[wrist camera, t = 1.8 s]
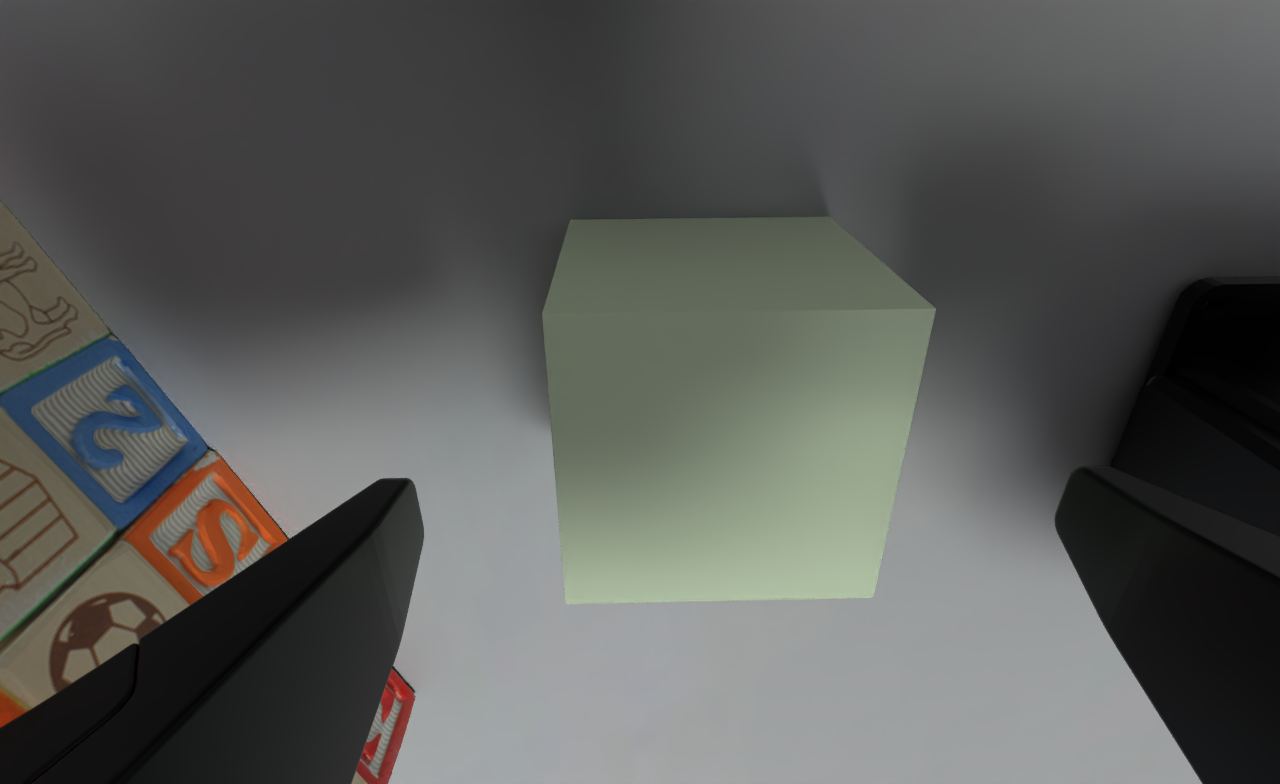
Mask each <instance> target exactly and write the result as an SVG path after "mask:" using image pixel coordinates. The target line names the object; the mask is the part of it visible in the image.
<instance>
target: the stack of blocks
mask: <svg viewBox="0 0 1280 784" xmlns="http://www.w3.org/2000/svg"><path fill="white" fill-rule="evenodd" d="M286 541H287V538H286V537H285V535H284V534H283V533H282V531H281V530H280V529H279V527H278V526H277V525H276V523H275V522H274V521H273V520H272V519H271V518H270V516H269V515H268V514H267V513H266V512H265V511H264V509H263V508H262V507H261V506H260V504H259V503H258V502H257V501H256V499H255V498H254V497H253V496H252V494H251V493H250V492H249V491H248V489H247V488H246V487H245V486H244V484H243V483H242V482H241V481H240V480H239V478H238V477H237V476H236V475H235V474H234V473H233V471H232V470H231V469H230V468H229V467H228V465H227V464H226V463H225V462H224V460H223V459H222V458H221V457H220V455H219V454H218V453H215V452H213V451H211V450H209V449H208V448H207V446H206V444H205V442H204V440H203V439H202V438H201V437H200V435H199V434H198V433H197V432H196V431H195V429H194V428H193V427H192V426H191V425H190V423H189V422H188V421H187V420H186V419H185V418H184V416H183V415H182V414H181V413H180V412H179V411H178V409H177V408H176V407H175V406H174V405H173V403H172V402H171V401H170V400H169V398H168V397H167V396H166V395H165V394H164V393H163V391H162V390H161V389H160V388H159V387H158V386H157V385H156V384H155V382H154V381H153V380H152V378H151V377H150V376H149V375H148V373H147V372H146V371H145V370H144V369H143V368H142V366H141V365H140V364H139V363H138V362H137V361H136V359H135V358H134V357H133V356H132V354H131V353H130V352H129V351H128V349H127V348H126V347H125V346H124V344H123V343H122V342H121V341H119V340H118V339H116V338H115V337H114V336H113V335H112V334H110V332H109V330H108V328H107V327H106V325H105V324H104V322H103V321H102V320H101V319H100V317H99V316H98V315H97V314H96V313H95V311H94V310H93V309H92V308H91V307H90V305H89V304H88V303H87V302H86V301H85V300H84V298H83V297H82V296H81V295H80V294H79V293H78V291H77V290H76V289H75V288H74V287H73V286H72V284H71V283H70V282H69V281H68V280H67V279H66V277H65V276H64V275H63V273H62V272H61V271H60V270H59V268H58V267H57V266H56V265H55V264H54V263H53V261H52V260H51V259H50V258H49V257H48V256H47V255H46V253H45V252H44V251H43V250H42V249H41V248H40V246H39V245H38V244H37V243H36V241H35V240H34V239H33V238H32V236H31V235H30V234H29V233H28V232H27V230H26V229H25V228H24V227H23V226H22V225H21V223H20V222H19V221H18V220H17V219H16V218H15V216H14V215H13V214H12V213H11V212H10V210H9V209H8V208H7V207H6V206H5V205H4V204H3V203H2V202H1V201H0V727H2V726H4V725H5V724H7V723H9V722H10V721H12V720H14V719H15V718H17V717H19V716H20V715H22V714H24V713H25V712H27V711H29V710H30V709H32V708H33V707H35V706H37V705H38V704H40V703H42V702H43V701H45V700H46V699H48V698H50V697H51V696H53V695H54V694H56V693H57V692H59V691H60V690H62V689H63V688H65V687H67V686H68V685H70V684H71V683H73V682H74V681H76V680H77V679H79V678H81V677H82V676H84V675H85V674H87V673H88V672H90V671H91V670H93V669H95V668H96V667H98V666H99V665H101V664H102V663H104V662H105V661H107V660H108V659H110V658H111V657H113V656H114V655H116V654H117V653H119V652H120V651H122V650H123V649H125V648H126V647H128V646H129V645H131V644H133V643H137V644H139V640H140V639H141V638H142V637H143V636H144V635H146V634H147V633H149V632H150V631H152V630H153V629H155V628H156V627H158V626H159V625H161V624H162V623H164V622H165V621H167V620H168V619H170V618H171V617H173V616H175V615H176V614H178V613H179V612H181V611H182V610H184V609H185V608H187V607H188V606H190V605H191V604H193V603H194V602H196V601H197V600H199V599H200V598H202V597H203V596H205V595H206V594H208V593H209V592H211V591H212V590H214V589H215V588H217V587H218V586H220V585H221V584H223V583H224V582H226V581H227V580H229V579H230V578H232V577H233V576H235V575H236V574H238V573H239V572H241V571H242V570H244V569H245V568H247V567H248V566H250V565H251V564H253V563H254V562H256V561H257V560H259V559H260V558H262V557H263V556H265V555H266V554H268V553H269V552H271V551H272V550H274V549H275V548H277V547H278V546H280V545H281V544H283V543H284V542H286ZM415 697H416V696H415V695H414V693H413V691H412V690H411V689H410V688H409V687H408V686H407V685H406V684H405V682H404V681H403V680H402V679H401V678H400V677H399V675H398V674H397V673H396V672H395V671H394V670H393V669H392V670H391V673H390V676H389V678H388V681H387V684H386V687H385V690H384V693H383V696H382V698H381V701H380V704H379V707H378V710H377V713H376V715H375V718H374V721H373V724H372V727H371V730H370V733H369V735H368V738H367V741H366V744H365V747H364V750H363V752H362V755H361V758H360V761H359V764H358V767H357V770H356V772H355V775H354V778H353V781H352V784H388V782H389V779H390V777H391V774H392V770H393V767H394V764H395V761H396V758H397V756H398V753H399V750H400V747H401V744H402V741H403V737H404V734H405V731H406V728H407V724H408V721H409V718H410V714H411V711H412V707H413V704H414V700H415Z"/></svg>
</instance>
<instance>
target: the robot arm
mask: <svg viewBox="0 0 1280 784" xmlns="http://www.w3.org/2000/svg"><path fill="white" fill-rule="evenodd" d="M1212 299H1213V302H1212V303H1211V305H1210V306H1209V307H1208V308H1207V309H1205V310H1204V311H1203V308H1204V306H1205V305H1206V304H1207V302H1209V301H1210V300H1212ZM1055 526H1056V530H1057V533H1058V535H1059V537H1060V539H1061V541H1062V543H1063V545H1064V547H1065V549H1066V551H1067V553H1068V555H1069V557H1070V559H1071V561H1072V563H1073V565H1074V567H1075V569H1076V571H1077V573H1078V575H1079V577H1080V579H1081V581H1082V583H1083V585H1084V587H1085V589H1086V591H1087V593H1088V595H1089V597H1090V599H1091V601H1092V603H1093V605H1094V607H1095V609H1096V611H1097V613H1098V615H1099V617H1100V619H1101V621H1102V623H1103V625H1104V627H1105V628H1106V630H1107V632H1108V634H1109V635H1110V637H1111V639H1112V640H1113V642H1114V644H1115V645H1116V647H1117V649H1118V650H1119V652H1120V654H1121V655H1122V657H1123V658H1124V660H1125V661H1126V663H1127V665H1128V666H1129V668H1130V669H1131V671H1132V673H1133V674H1134V676H1135V677H1136V679H1137V681H1138V682H1139V684H1140V685H1141V687H1142V688H1143V690H1144V692H1145V693H1146V695H1147V696H1148V698H1149V700H1150V701H1151V703H1152V704H1153V706H1154V708H1155V709H1156V711H1157V712H1158V714H1159V716H1160V717H1161V719H1162V720H1163V722H1164V723H1165V725H1166V727H1167V728H1168V730H1169V731H1170V733H1171V735H1172V736H1173V738H1174V739H1175V741H1176V743H1177V744H1178V746H1179V747H1180V749H1181V750H1182V752H1183V754H1184V755H1185V757H1186V758H1187V760H1188V762H1189V763H1190V765H1191V766H1192V768H1193V770H1194V771H1195V773H1196V774H1197V776H1198V777H1199V779H1200V781H1201V782H1202V784H1280V277H1223V278H1206V279H1201V280H1198V281H1197V282H1195V283H1193V284H1191V285H1189V286H1188V287H1187V288H1186V289H1185V290H1184V291H1183V292H1182V293H1181V295H1180V296H1179V298H1178V300H1177V301H1176V303H1175V306H1174V309H1173V311H1172V314H1171V316H1170V319H1169V321H1168V324H1167V326H1166V329H1165V331H1164V334H1163V336H1162V339H1161V341H1160V344H1159V346H1158V349H1157V351H1156V354H1155V356H1154V359H1153V361H1152V364H1151V366H1150V369H1149V371H1148V374H1147V376H1146V379H1145V381H1144V384H1143V386H1142V389H1141V391H1140V394H1139V396H1138V399H1137V401H1136V404H1135V406H1134V409H1133V411H1132V414H1131V416H1130V419H1129V421H1128V424H1127V426H1126V429H1125V431H1124V434H1123V436H1122V439H1121V441H1120V444H1119V446H1118V449H1117V451H1116V454H1115V456H1114V459H1113V461H1112V464H1111V466H1110V467H1108V466H1082V467H1078V468H1076V469H1074V470H1073V471H1072V472H1071V473H1070V475H1069V478H1068V480H1067V483H1066V486H1065V489H1064V491H1063V494H1062V497H1061V500H1060V502H1059V505H1058V508H1057V511H1056V514H1055ZM423 540H424V527H423V521H422V516H421V512H420V507H419V502H418V497H417V492H416V488H415V485H414V483H413V481H412V480H410V479H409V478H383V479H379V480H378V481H376V482H374V483H373V484H371V485H370V486H368V487H367V488H365V489H364V490H362V491H361V492H359V493H358V494H356V495H355V496H353V497H352V498H350V499H349V500H347V501H346V502H344V503H343V504H341V505H340V506H338V507H337V508H335V509H334V510H332V511H331V512H329V513H328V514H326V515H325V516H323V517H322V518H320V519H319V520H317V521H316V522H314V523H313V524H311V525H310V526H308V527H307V528H305V529H304V530H302V531H301V532H299V533H298V534H296V535H295V536H293V537H292V538H290V539H289V540H287V541H286V542H284V543H283V544H281V545H280V546H278V547H277V548H275V549H274V550H272V551H271V552H269V553H268V554H266V555H265V556H263V557H262V558H260V559H259V560H257V561H256V562H254V563H253V564H251V565H250V566H248V567H247V568H245V569H244V570H242V571H241V572H239V573H238V574H236V575H235V576H233V577H232V578H230V579H229V580H227V581H226V582H224V583H223V584H221V585H220V586H218V587H217V588H215V589H214V590H212V591H211V592H209V593H208V594H206V595H205V596H203V597H202V598H200V599H199V600H197V601H196V602H194V603H193V604H191V605H190V606H188V607H187V608H185V609H184V610H182V611H181V612H179V613H178V614H176V615H175V616H173V617H171V618H170V619H168V620H167V621H165V622H164V623H162V624H161V625H159V626H158V627H156V628H155V629H153V630H152V631H150V632H149V633H147V634H146V635H144V636H143V637H142V638H141V639H140V640H139V644H137V643H133V644H131V645H129V646H128V647H126V648H125V649H123V650H122V651H120V652H119V653H117V654H116V655H114V656H113V657H111V658H110V659H108V660H107V661H105V662H104V663H102V664H101V665H99V666H98V667H96V668H95V669H93V670H91V671H90V672H88V673H87V674H85V675H84V676H82V677H81V678H79V679H77V680H76V681H74V682H73V683H71V684H70V685H68V686H67V687H65V688H63V689H62V690H60V691H59V692H57V693H56V694H54V695H53V696H51V697H50V698H48V699H46V700H45V701H43V702H42V703H40V704H38V705H37V706H35V707H33V708H32V709H30V710H29V711H27V712H25V713H24V714H22V715H20V716H19V717H17V718H15V719H14V720H12V721H10V722H9V723H7V724H5V725H4V726H2V727H0V784H352V781H353V778H354V775H355V772H356V770H357V767H358V764H359V761H360V758H361V755H362V752H363V750H364V747H365V744H366V741H367V738H368V735H369V733H370V730H371V727H372V724H373V721H374V718H375V715H376V713H377V710H378V707H379V704H380V701H381V698H382V696H383V693H384V690H385V687H386V684H387V681H388V678H389V676H390V673H391V670H392V667H393V664H394V661H395V658H396V655H397V652H398V649H399V646H400V642H401V638H402V634H403V630H404V626H405V622H406V617H407V613H408V608H409V604H410V599H411V595H412V590H413V586H414V582H415V577H416V573H417V568H418V564H419V559H420V555H421V550H422V546H423Z"/></svg>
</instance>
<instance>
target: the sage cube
mask: <svg viewBox="0 0 1280 784" xmlns="http://www.w3.org/2000/svg"><path fill="white" fill-rule="evenodd" d="M935 312H936V308H935V307H934V306H932V305H931V304H930V303H929V302H928V301H927V300H926V299H924V298H923V297H922V296H921V295H920V294H919V293H917V292H916V291H915V290H914V289H913V288H912V287H911V286H909V285H908V284H907V283H906V282H905V281H904V280H902V279H901V278H900V277H899V276H898V275H897V274H895V273H894V272H893V271H892V270H891V269H890V268H889V267H887V266H886V265H885V264H884V263H883V262H882V261H880V260H879V259H878V258H877V257H876V256H875V255H874V254H872V253H871V252H870V251H869V250H868V249H867V248H865V247H864V246H863V245H862V244H861V243H860V242H859V241H857V240H856V239H855V238H854V237H853V236H852V235H850V234H849V233H848V232H847V231H846V230H845V229H844V228H842V227H841V226H840V225H839V224H838V223H837V222H835V221H834V220H833V219H832V218H831V217H755V218H672V219H588V220H570V222H569V225H568V228H567V232H566V235H565V238H564V242H563V245H562V248H561V252H560V255H559V259H558V262H557V265H556V269H555V272H554V275H553V279H552V282H551V285H550V289H549V292H548V296H547V299H546V302H545V306H544V309H543V312H542V322H543V334H544V346H545V358H546V370H547V383H548V395H549V407H550V419H551V431H552V444H553V456H554V468H555V480H556V492H557V504H558V517H559V529H560V541H561V553H562V565H563V577H564V590H565V602H566V604H596V603H644V602H691V601H739V600H787V599H834V598H873V596H874V592H875V587H876V582H877V578H878V573H879V569H880V564H881V560H882V555H883V550H884V546H885V541H886V537H887V532H888V528H889V523H890V518H891V514H892V509H893V505H894V500H895V495H896V491H897V486H898V482H899V477H900V473H901V468H902V463H903V459H904V454H905V450H906V445H907V441H908V436H909V431H910V427H911V422H912V418H913V413H914V408H915V404H916V399H917V395H918V390H919V386H920V381H921V376H922V372H923V367H924V363H925V358H926V354H927V349H928V344H929V340H930V335H931V331H932V326H933V321H934V317H935Z"/></svg>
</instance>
